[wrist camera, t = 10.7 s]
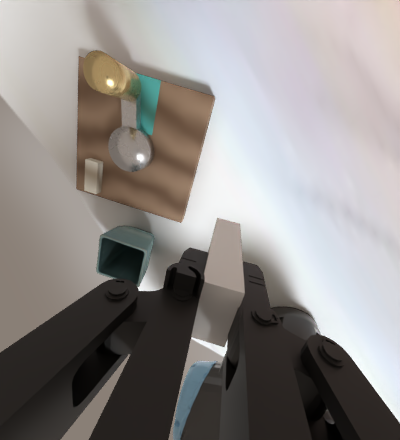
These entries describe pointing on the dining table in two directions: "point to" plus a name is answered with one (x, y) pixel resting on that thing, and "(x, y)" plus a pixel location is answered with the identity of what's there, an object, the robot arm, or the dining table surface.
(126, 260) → the flower pot
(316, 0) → the dining table surface
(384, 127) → the dining table surface
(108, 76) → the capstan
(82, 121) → the base plate
